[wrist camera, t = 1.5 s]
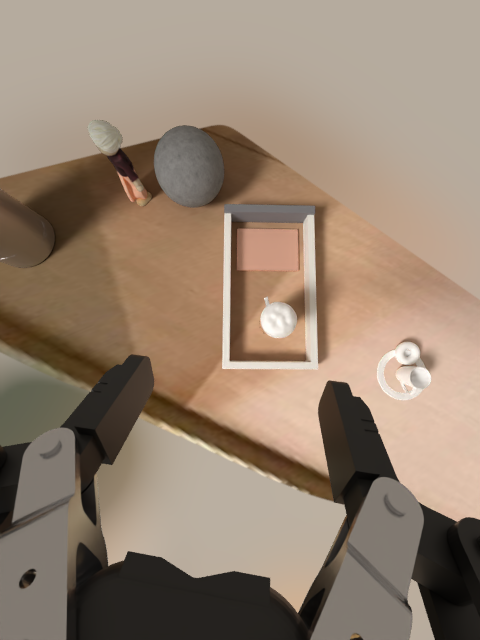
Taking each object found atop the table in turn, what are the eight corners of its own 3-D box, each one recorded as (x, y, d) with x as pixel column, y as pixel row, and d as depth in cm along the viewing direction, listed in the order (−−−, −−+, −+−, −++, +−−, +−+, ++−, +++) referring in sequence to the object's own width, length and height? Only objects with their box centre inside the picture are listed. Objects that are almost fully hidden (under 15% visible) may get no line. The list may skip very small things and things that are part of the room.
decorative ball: (201, 231, 39) (189, 192, 29) (153, 197, 39) (126, 147, 29) (237, 186, 40) (238, 133, 30) (190, 153, 40) (175, 90, 30)
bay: (223, 367, 37) (222, 369, 34) (225, 214, 39) (224, 204, 36) (312, 367, 37) (319, 369, 34) (308, 216, 39) (314, 205, 36)
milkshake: (269, 301, 38) (281, 286, 28) (289, 327, 37) (308, 322, 27) (246, 317, 37) (250, 308, 27) (266, 344, 37) (278, 345, 27)
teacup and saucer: (396, 334, 38) (415, 333, 34) (436, 365, 38) (460, 368, 34) (365, 378, 37) (381, 382, 33) (406, 409, 37) (427, 418, 33)
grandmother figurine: (116, 188, 39) (60, 115, 26) (133, 173, 39) (85, 93, 27) (149, 219, 39) (108, 159, 26) (166, 203, 39) (133, 136, 26)
